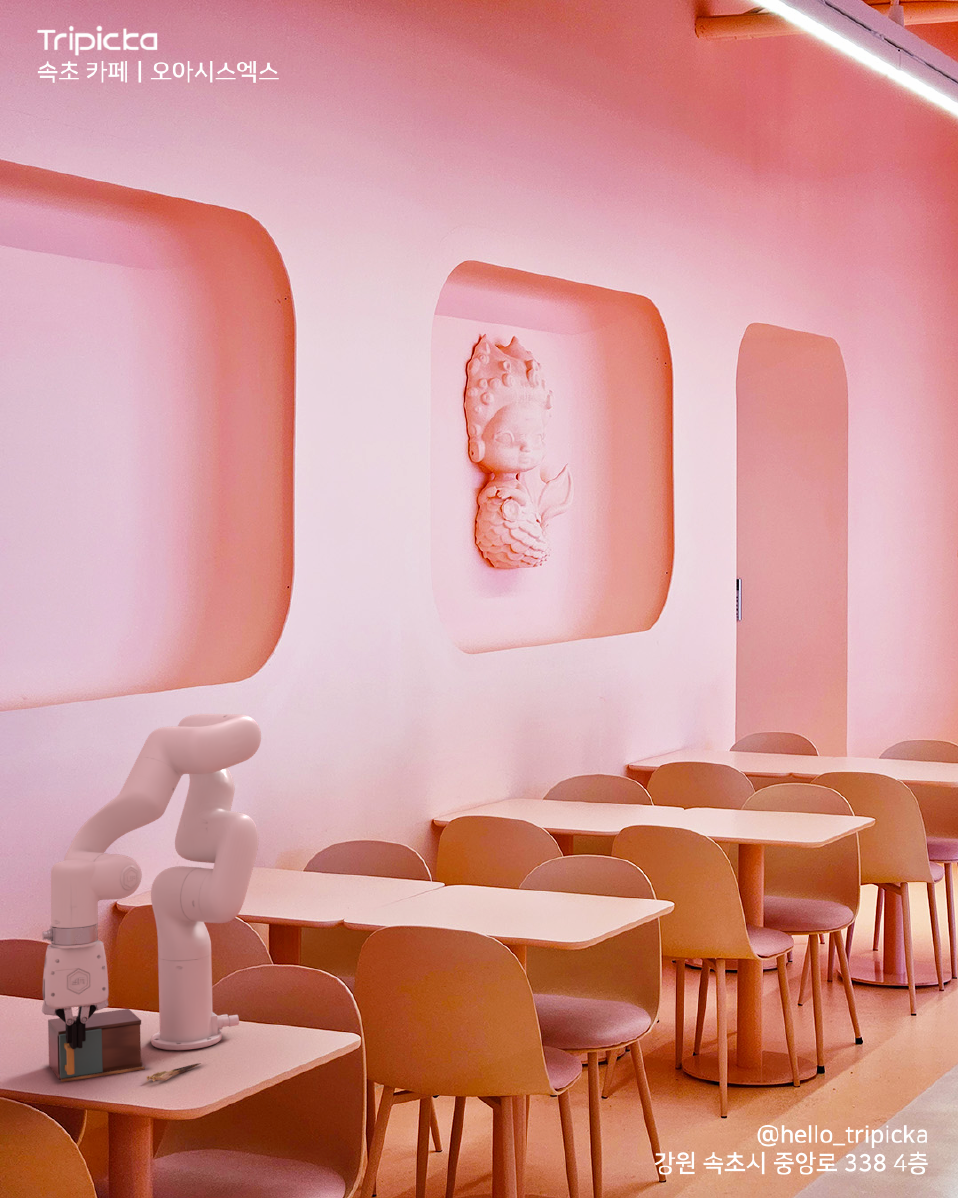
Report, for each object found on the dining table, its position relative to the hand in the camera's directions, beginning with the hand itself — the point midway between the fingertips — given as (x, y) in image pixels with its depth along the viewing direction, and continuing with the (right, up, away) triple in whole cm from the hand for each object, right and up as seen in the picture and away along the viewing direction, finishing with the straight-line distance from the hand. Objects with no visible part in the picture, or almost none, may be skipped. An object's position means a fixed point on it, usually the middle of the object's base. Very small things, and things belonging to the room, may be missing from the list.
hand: (75, 1046), depth 254 cm
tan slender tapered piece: (+16, -6, +4) cm, 18 cm away
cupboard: (+1, -6, +10) cm, 12 cm away
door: (+1, -6, +2) cm, 6 cm away
